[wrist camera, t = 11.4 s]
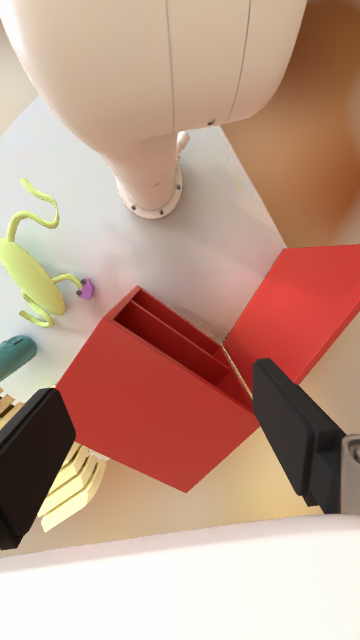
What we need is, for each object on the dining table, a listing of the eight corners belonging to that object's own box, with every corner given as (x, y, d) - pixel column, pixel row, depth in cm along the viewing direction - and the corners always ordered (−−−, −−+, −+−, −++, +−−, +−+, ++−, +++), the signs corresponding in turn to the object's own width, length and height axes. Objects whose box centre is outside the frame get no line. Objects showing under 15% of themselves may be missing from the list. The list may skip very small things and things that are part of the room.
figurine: (58, 181, 37) (39, 168, 32) (108, 310, 46) (100, 317, 40) (-32, 206, 38) (-65, 198, 33) (34, 329, 46) (16, 339, 41)
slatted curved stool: (118, 426, 57) (96, 498, 40) (80, 453, 59) (45, 532, 43) (31, 357, 49) (-42, 412, 32) (-8, 392, 51) (-95, 460, 34)
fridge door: (307, 263, 44) (447, 272, 22) (244, 354, 51) (302, 432, 29) (283, 248, 43) (407, 241, 21) (222, 343, 50) (265, 416, 27)
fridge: (137, 285, 44) (102, 317, 21) (221, 346, 50) (264, 422, 27) (96, 343, 48) (31, 421, 25) (179, 393, 54) (186, 493, 31)
